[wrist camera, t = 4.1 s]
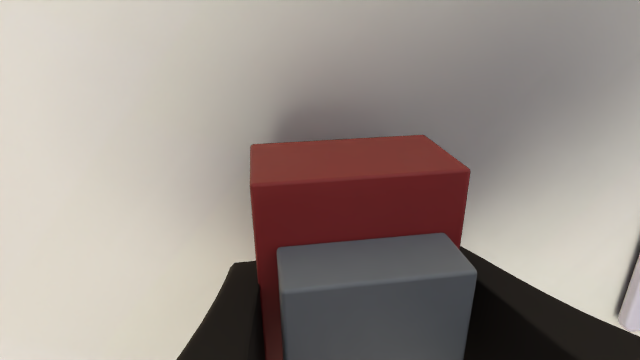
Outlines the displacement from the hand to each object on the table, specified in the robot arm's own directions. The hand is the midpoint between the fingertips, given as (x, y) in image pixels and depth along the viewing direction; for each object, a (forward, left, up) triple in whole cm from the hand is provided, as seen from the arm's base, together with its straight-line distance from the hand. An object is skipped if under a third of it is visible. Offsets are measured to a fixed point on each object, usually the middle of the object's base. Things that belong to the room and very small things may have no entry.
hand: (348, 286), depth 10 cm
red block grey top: (0, 0, -2) cm, 2 cm away
